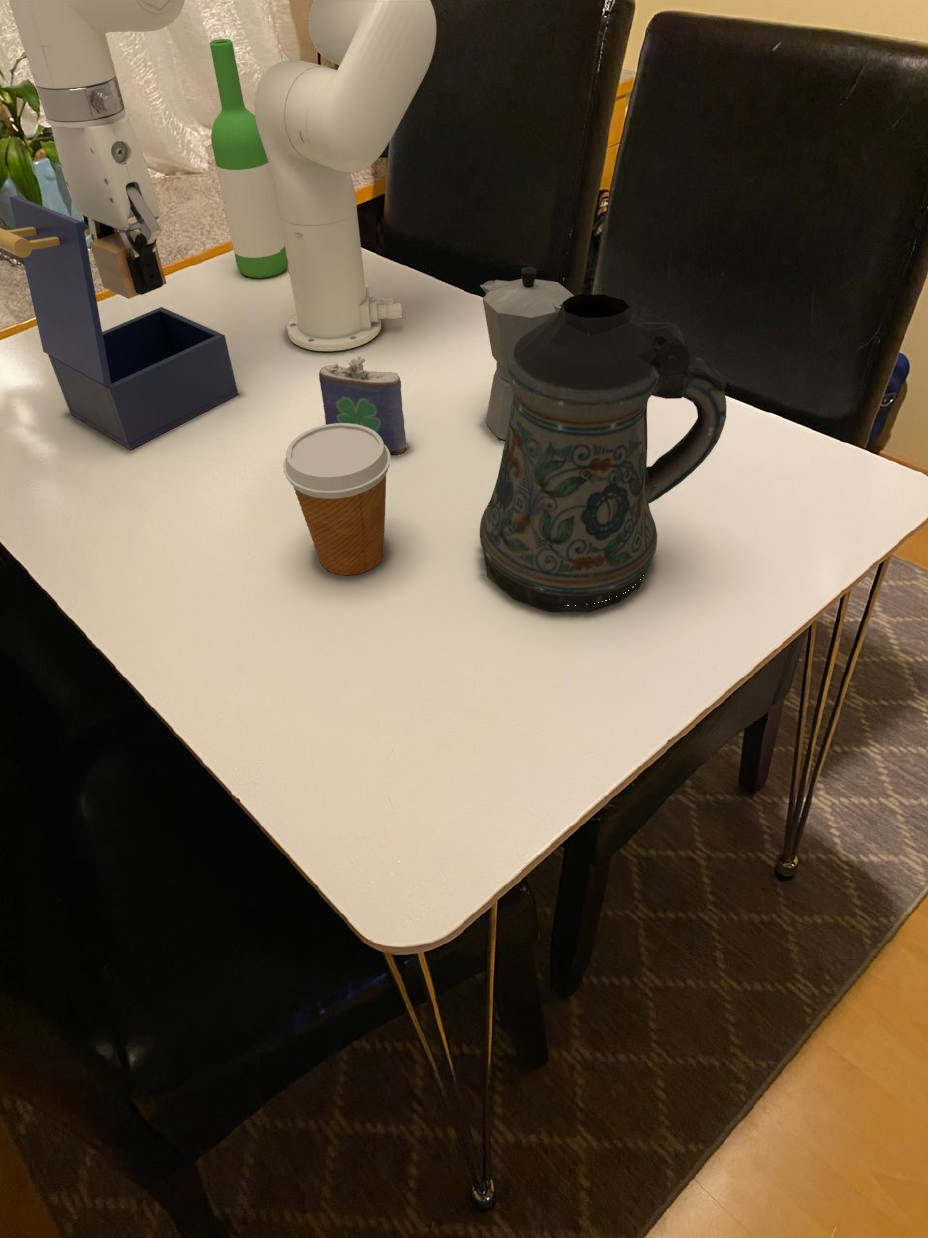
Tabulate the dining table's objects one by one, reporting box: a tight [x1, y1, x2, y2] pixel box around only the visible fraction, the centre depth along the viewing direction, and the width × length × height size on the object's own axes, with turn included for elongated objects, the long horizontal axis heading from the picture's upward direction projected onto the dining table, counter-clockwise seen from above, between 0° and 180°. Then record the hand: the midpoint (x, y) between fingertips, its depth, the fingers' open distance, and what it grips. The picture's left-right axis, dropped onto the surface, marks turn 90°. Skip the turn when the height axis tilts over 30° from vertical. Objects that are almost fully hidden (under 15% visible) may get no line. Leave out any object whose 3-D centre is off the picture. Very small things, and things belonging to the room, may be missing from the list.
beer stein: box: [479, 293, 728, 613], centre depth 77 cm, size 16×19×25 cm
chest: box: [47, 306, 239, 451], centre depth 106 cm, size 16×13×8 cm
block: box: [89, 230, 167, 300], centre depth 99 cm, size 5×5×5 cm
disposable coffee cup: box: [282, 423, 392, 576], centre depth 83 cm, size 10×10×12 cm
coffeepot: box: [479, 266, 575, 441], centre depth 96 cm, size 15×9×18 cm, turn 46°
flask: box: [318, 355, 407, 456], centre depth 97 cm, size 9×3×11 cm, turn 74°
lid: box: [0, 195, 111, 385], centre depth 93 cm, size 16×13×6 cm
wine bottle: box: [209, 38, 288, 279], centre depth 127 cm, size 8×8×30 cm
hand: (134, 281), depth 100 cm, fingers closed on block, 5 cm apart
